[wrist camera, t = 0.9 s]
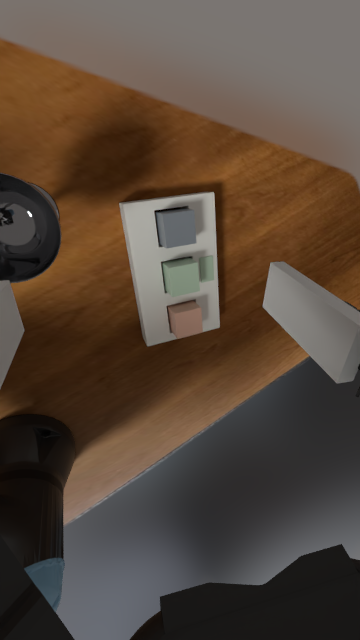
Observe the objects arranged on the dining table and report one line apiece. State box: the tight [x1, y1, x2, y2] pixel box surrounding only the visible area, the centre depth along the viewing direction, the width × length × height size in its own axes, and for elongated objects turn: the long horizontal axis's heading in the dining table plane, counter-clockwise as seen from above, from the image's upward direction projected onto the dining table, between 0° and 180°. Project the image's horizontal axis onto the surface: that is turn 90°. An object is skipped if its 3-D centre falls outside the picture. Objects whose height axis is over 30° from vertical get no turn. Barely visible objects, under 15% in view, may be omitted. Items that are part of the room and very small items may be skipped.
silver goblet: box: [0, 173, 61, 283], centre depth 28 cm, size 8×8×15 cm
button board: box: [119, 192, 220, 347], centre depth 42 cm, size 20×12×3 cm, turn 6°
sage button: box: [162, 257, 200, 297], centre depth 40 cm, size 4×4×3 cm
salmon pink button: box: [167, 300, 203, 339], centre depth 43 cm, size 4×4×3 cm
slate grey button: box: [156, 208, 196, 248], centre depth 37 cm, size 4×4×3 cm
